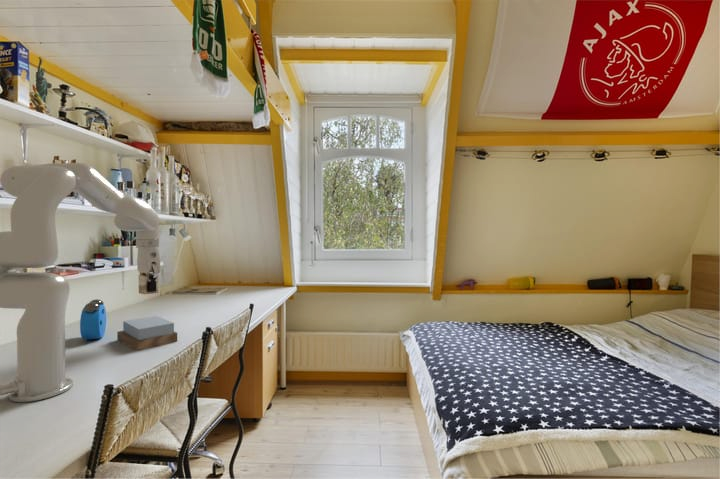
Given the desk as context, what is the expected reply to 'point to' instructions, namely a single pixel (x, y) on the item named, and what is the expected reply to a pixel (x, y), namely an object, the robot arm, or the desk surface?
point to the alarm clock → (93, 320)
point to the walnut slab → (145, 340)
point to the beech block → (145, 285)
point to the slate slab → (148, 327)
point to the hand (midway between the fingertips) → (148, 290)
